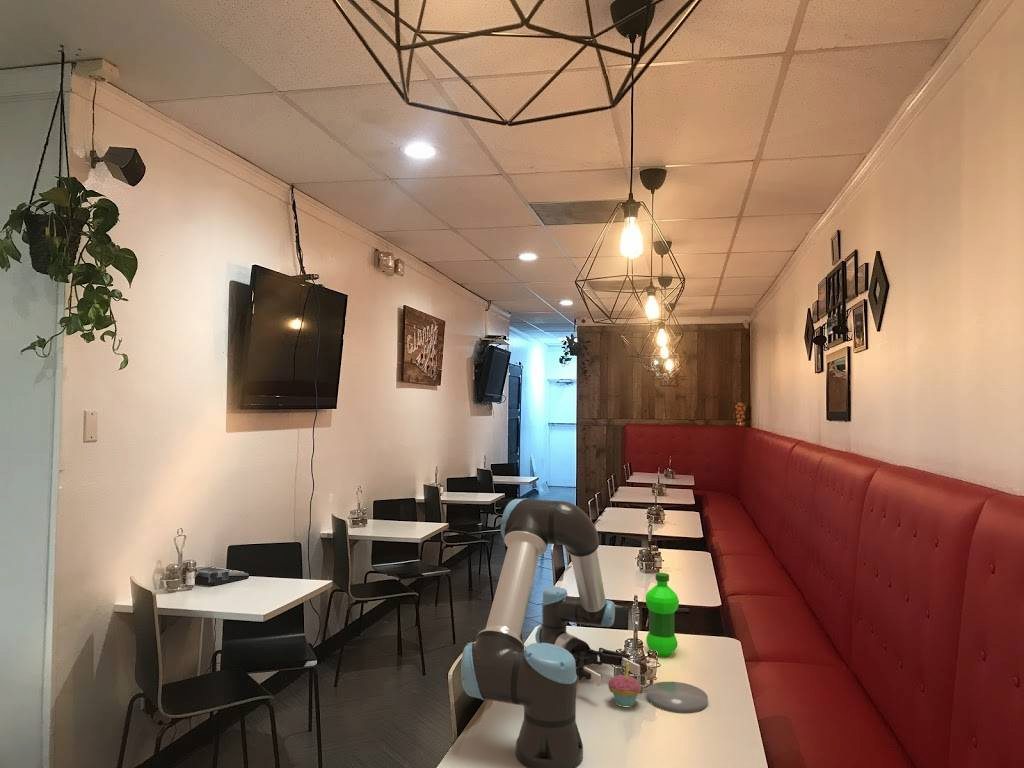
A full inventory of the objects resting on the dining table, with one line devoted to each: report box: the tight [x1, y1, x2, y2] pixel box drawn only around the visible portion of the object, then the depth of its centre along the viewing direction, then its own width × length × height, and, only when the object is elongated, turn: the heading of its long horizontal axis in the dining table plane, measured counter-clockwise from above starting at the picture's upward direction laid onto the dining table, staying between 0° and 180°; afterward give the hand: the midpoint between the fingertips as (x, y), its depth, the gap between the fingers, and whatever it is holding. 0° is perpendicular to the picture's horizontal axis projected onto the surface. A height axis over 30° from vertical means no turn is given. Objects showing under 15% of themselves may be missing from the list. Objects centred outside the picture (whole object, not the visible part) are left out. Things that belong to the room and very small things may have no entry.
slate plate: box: [645, 681, 709, 714], centre depth 183 cm, size 16×16×2 cm
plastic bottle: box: [645, 572, 680, 658], centre depth 217 cm, size 10×10×25 cm
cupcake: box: [607, 660, 642, 707], centre depth 181 cm, size 9×8×12 cm
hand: (620, 675), depth 183 cm, fingers open, 13 cm apart
